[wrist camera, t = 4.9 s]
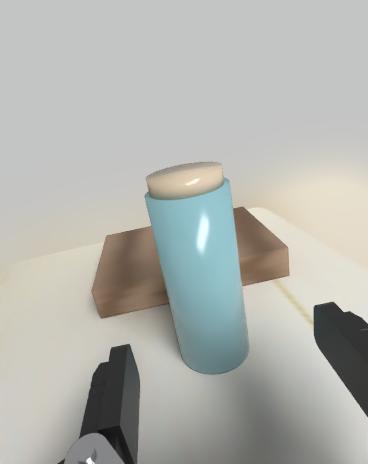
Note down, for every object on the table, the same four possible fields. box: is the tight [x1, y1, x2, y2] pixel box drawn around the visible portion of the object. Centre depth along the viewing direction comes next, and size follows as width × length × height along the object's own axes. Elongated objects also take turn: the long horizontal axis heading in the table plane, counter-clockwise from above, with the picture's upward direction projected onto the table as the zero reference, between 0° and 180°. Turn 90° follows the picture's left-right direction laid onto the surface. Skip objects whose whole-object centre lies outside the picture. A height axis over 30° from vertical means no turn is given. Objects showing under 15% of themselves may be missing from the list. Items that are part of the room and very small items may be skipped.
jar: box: [145, 162, 249, 374], centre depth 20 cm, size 5×5×13 cm
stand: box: [92, 207, 289, 319], centre depth 34 cm, size 18×13×3 cm
